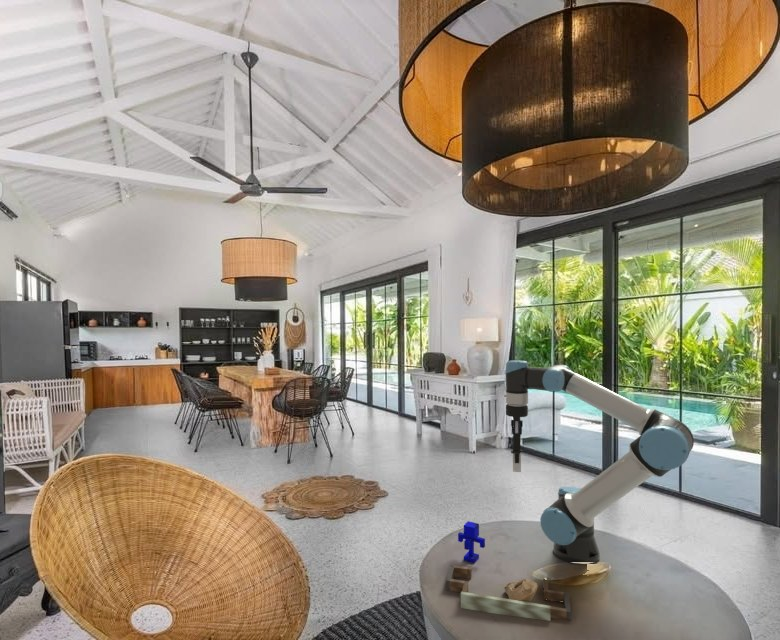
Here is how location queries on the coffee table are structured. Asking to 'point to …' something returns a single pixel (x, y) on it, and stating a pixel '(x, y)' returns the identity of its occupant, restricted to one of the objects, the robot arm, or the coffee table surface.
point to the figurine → (471, 540)
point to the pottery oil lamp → (521, 590)
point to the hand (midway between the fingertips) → (516, 471)
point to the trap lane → (503, 604)
